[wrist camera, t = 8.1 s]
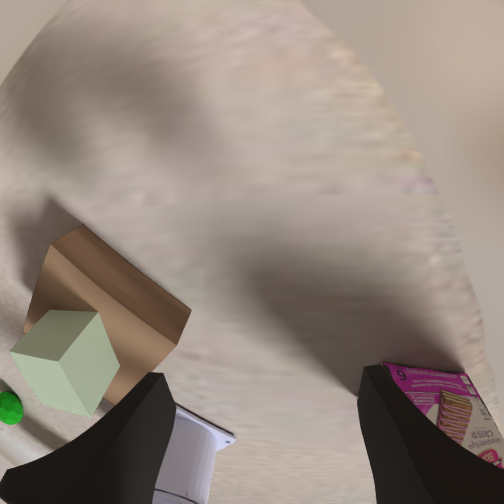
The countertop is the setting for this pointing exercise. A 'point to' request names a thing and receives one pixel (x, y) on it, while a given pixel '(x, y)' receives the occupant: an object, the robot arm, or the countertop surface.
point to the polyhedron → (10, 408)
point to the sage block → (67, 360)
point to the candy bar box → (452, 408)
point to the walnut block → (110, 304)
